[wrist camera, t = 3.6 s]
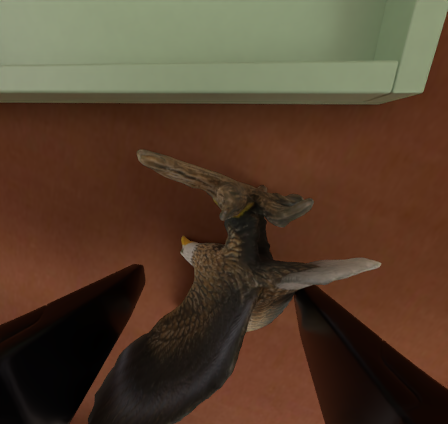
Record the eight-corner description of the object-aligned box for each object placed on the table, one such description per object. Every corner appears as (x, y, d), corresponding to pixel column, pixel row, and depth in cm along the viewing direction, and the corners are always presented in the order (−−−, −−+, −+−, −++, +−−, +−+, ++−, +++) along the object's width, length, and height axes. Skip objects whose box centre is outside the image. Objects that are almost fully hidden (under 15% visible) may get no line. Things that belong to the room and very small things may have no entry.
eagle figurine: (121, 143, 8) (80, 348, 9) (195, 147, 2) (49, 725, 3) (266, 187, 12) (223, 322, 13) (430, 230, 6) (322, 465, 7)
